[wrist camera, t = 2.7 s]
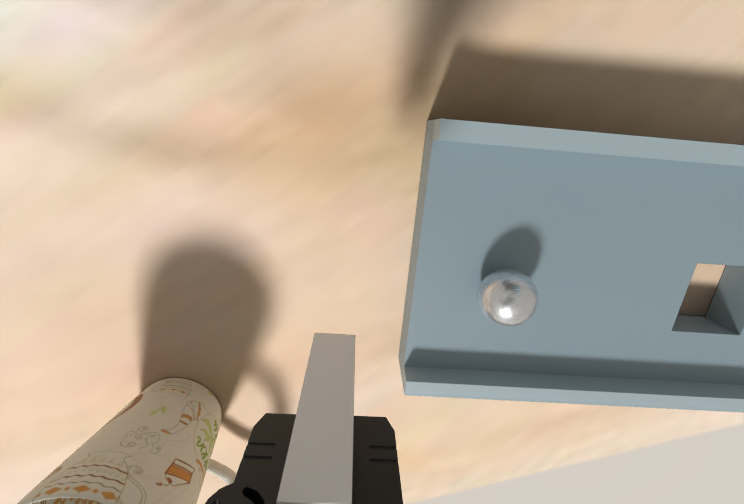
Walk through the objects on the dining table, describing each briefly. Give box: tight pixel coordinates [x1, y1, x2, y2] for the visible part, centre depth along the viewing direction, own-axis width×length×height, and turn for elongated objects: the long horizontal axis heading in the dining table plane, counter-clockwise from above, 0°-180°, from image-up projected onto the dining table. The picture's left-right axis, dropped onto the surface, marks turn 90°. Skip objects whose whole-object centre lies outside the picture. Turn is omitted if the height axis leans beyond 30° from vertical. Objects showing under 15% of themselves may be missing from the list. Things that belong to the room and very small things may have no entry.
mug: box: [18, 378, 236, 504], centre depth 23 cm, size 8×13×10 cm, turn 47°
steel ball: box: [478, 269, 539, 326], centre depth 21 cm, size 3×3×3 cm
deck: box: [399, 119, 744, 412], centre depth 23 cm, size 16×26×4 cm, turn 85°
